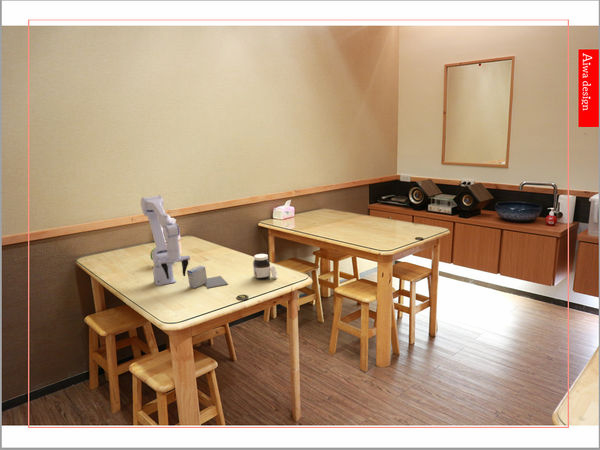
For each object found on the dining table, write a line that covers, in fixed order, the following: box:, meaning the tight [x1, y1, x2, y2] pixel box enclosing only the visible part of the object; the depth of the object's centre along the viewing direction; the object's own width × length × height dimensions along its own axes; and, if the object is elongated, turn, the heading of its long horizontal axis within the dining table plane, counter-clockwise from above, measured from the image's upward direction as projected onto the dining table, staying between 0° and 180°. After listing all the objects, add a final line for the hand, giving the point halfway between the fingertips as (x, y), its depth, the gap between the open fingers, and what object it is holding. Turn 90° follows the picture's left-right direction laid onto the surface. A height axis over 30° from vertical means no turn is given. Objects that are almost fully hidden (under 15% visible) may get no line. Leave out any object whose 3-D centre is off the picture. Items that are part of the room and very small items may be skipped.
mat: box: [204, 275, 229, 289], centre depth 222 cm, size 10×13×1 cm
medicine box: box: [186, 265, 208, 289], centre depth 217 cm, size 8×4×9 cm, turn 141°
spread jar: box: [252, 253, 279, 281], centre depth 225 cm, size 12×11×12 cm
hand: (176, 276), depth 212 cm, fingers open, 7 cm apart
